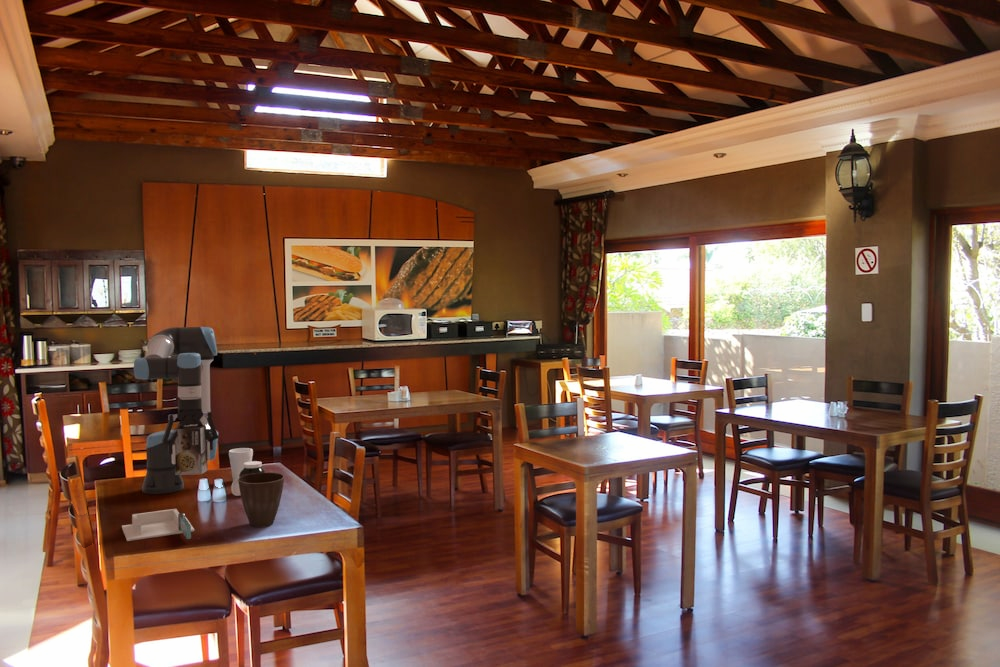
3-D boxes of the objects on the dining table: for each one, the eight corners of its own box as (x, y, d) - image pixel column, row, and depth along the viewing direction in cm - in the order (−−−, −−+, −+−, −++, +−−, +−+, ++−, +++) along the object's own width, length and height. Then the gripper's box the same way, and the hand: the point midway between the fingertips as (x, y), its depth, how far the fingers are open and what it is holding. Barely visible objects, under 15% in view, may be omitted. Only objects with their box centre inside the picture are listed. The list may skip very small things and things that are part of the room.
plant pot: (292, 524, 260) (292, 477, 259) (251, 533, 250) (250, 485, 249) (272, 515, 271) (271, 470, 270) (231, 523, 261) (230, 477, 260)
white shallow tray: (121, 527, 256) (121, 515, 256) (185, 518, 267) (185, 506, 266) (127, 541, 242) (126, 528, 242) (194, 531, 252) (194, 518, 252)
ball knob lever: (178, 528, 252) (177, 513, 251) (184, 527, 253) (184, 512, 252) (185, 540, 239) (185, 525, 239) (192, 539, 240) (192, 524, 240)
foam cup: (234, 485, 314) (234, 453, 314) (225, 481, 321) (225, 450, 320) (257, 481, 321) (256, 450, 320) (247, 477, 327) (246, 447, 327)
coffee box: (207, 470, 269) (207, 424, 268) (201, 474, 263) (200, 428, 262) (181, 471, 268) (180, 425, 268) (174, 475, 262) (173, 428, 261)
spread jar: (268, 489, 306) (268, 461, 306) (259, 497, 295) (259, 467, 295) (239, 489, 307) (238, 460, 306) (228, 497, 295) (228, 467, 295)
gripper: (155, 401, 255) (156, 467, 256) (227, 396, 267) (228, 459, 268) (151, 399, 261) (153, 463, 262) (222, 394, 274) (223, 456, 275)
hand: (190, 461), depth 265 cm, fingers closed on coffee box, 10 cm apart
